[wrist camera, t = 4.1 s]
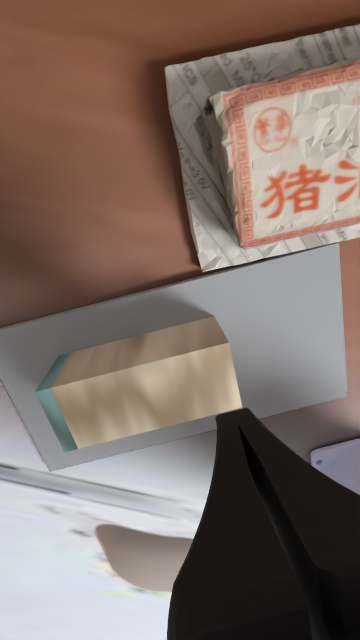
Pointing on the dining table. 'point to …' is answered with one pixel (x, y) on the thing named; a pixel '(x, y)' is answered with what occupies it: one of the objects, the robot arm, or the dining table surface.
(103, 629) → the dining table surface
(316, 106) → the packaged product
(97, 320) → the grey mat
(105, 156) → the dining table surface
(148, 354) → the maple block
